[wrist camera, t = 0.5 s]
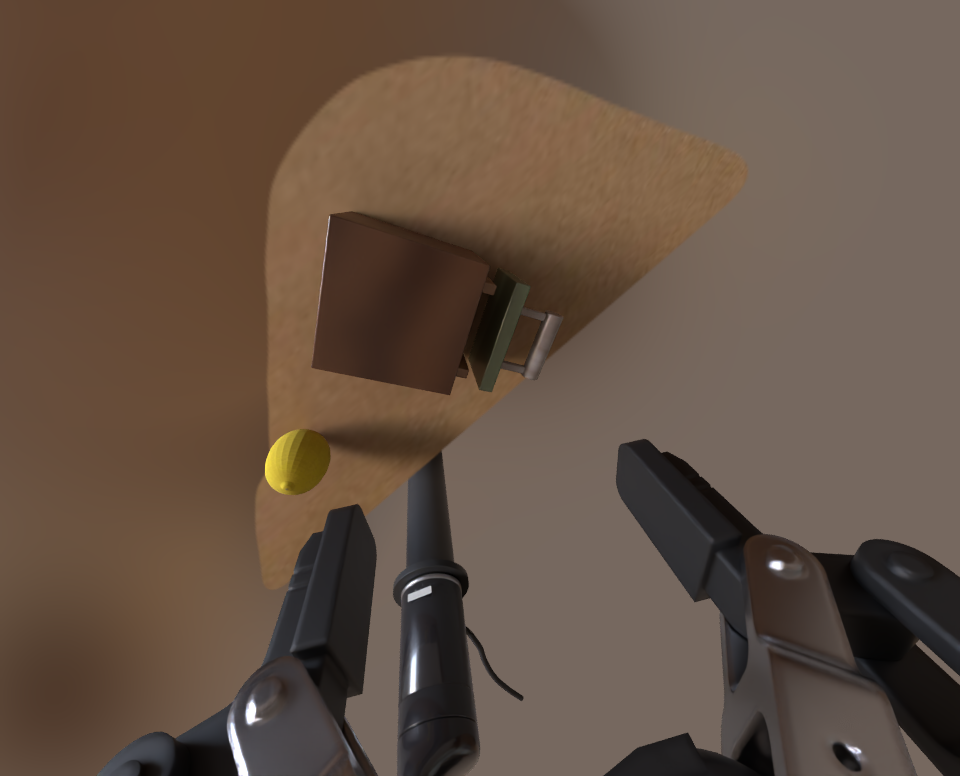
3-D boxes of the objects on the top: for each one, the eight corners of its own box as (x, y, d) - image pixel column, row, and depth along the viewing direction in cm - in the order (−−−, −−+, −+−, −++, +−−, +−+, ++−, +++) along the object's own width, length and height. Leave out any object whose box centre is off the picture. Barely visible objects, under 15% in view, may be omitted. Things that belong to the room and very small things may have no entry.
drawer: (549, 283, 33) (578, 301, 27) (515, 369, 37) (535, 401, 31) (407, 238, 29) (405, 247, 23) (386, 339, 33) (380, 369, 27)
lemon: (271, 440, 37) (239, 495, 30) (300, 405, 36) (273, 454, 29) (318, 464, 40) (298, 520, 33) (347, 432, 38) (332, 483, 31)
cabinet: (472, 250, 32) (490, 265, 24) (442, 355, 36) (449, 395, 28) (351, 211, 28) (329, 214, 21) (334, 330, 33) (310, 368, 25)
